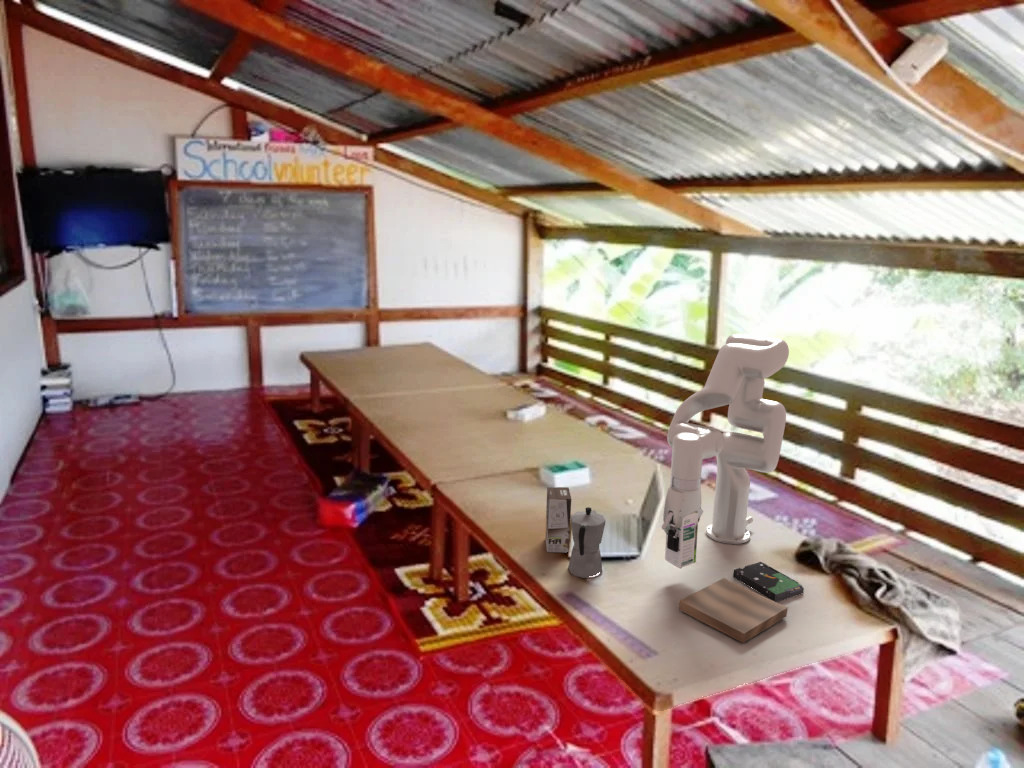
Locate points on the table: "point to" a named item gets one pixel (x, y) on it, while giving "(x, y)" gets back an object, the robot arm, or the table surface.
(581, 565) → the coffeepot
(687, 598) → the walnut stand
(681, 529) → the syrup box
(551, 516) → the coffee box
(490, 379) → the table surface
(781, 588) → the disk drive
